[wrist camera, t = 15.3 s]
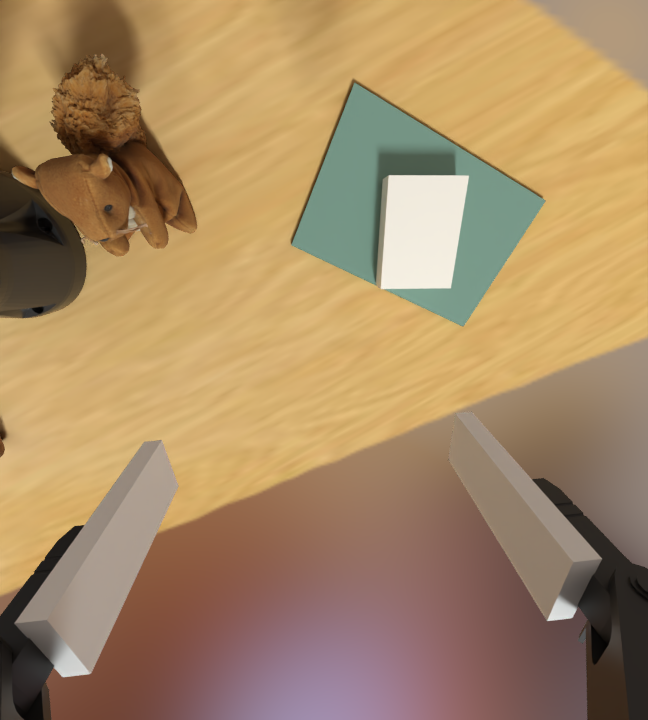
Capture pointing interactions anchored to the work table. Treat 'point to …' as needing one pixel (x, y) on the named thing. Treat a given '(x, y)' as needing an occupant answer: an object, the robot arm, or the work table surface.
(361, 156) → the mat
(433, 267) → the card box
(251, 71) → the work table surface
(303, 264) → the work table surface
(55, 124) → the stuffed squirrel
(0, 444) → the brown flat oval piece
